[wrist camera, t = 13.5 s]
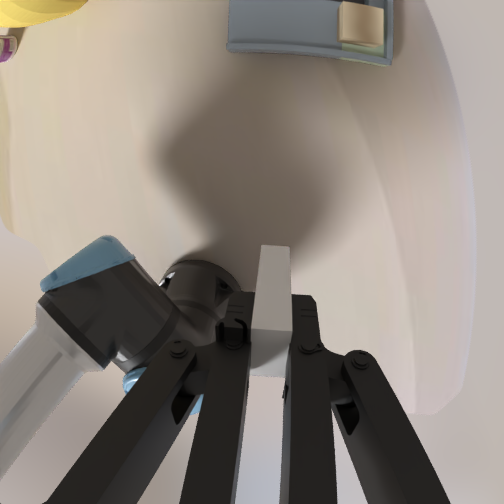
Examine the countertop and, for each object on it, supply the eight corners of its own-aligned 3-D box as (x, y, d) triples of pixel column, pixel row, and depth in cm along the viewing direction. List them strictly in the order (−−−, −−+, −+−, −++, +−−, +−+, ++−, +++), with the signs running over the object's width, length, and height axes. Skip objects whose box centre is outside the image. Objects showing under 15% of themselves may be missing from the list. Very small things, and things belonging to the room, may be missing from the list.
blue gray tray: (230, 52, 36) (225, 48, 33) (234, -38, 29) (230, -48, 26) (383, 66, 35) (392, 65, 32) (383, -23, 28) (391, -31, 25)
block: (336, 42, 32) (342, 37, 29) (337, 8, 30) (343, 1, 27) (373, 48, 32) (383, 44, 29) (374, 15, 30) (383, 8, 26)
